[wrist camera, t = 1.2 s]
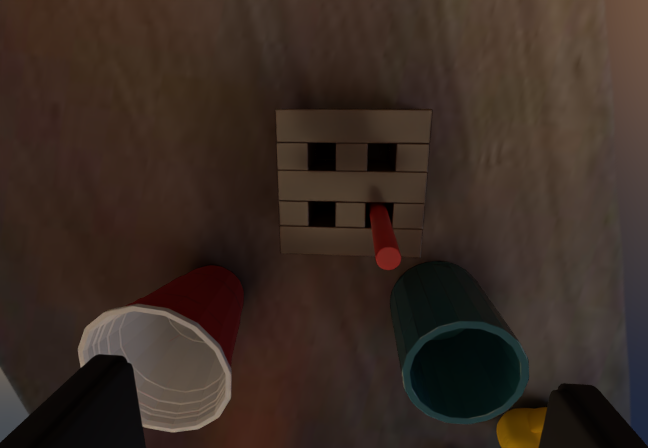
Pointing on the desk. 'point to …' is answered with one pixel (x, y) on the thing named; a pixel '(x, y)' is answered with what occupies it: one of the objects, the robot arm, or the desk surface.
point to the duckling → (521, 427)
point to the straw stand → (350, 178)
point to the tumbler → (455, 346)
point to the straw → (383, 237)
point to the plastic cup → (176, 347)
